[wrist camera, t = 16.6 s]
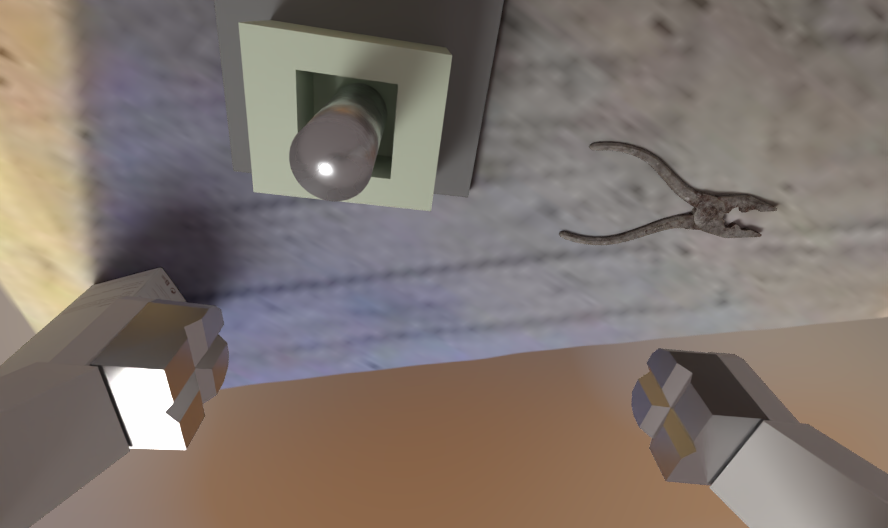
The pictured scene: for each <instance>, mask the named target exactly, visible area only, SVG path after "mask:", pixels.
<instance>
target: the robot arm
mask: <svg viewBox="0 0 888 528" xmlns="http://www.w3.org/2000/svg"><path fill="white" fill-rule="evenodd" d="M223 325H224V321H223V316H222V311H221V309H220V308H218V307H217V306H213V305H205V304H196V303H188V302H179V301H171V300H162V299H150V298H141V297H132V296H125V297H122V298H118V299H116V300H115V301H114V302H113V303H112V304H111V305H110V306H109V307H108V308H107V309H105V310H104V311H103V312H102V313H101V314H100V315H99V316H98V317H97V318H96V319H95V320H94V321H92V322H91V323H90V324H89V325H88V326H87V327H86V328H85V329H84V330H83V331H82V332H81V333H80V334H78V335H77V336H76V337H75V338H74V339H73V340H72V341H71V342H70V343H69V344H68V345H67V346H65V347H64V348H63V349H62V350H61V351H60V352H59V353H58V354H57V355H56V356H55V357H54V358H52V359H51V360H50V361H49V362H35V363H33V364H30V365H28V366H25V367H23V368H21V369H18V370H16V371H14V372H11V373H9V374H6V375H4V376H2V377H0V528H29V527H31V526H32V525H33V524H34V523H36V522H37V521H38V520H40V519H41V518H43V517H44V516H45V515H46V514H48V513H49V512H50V511H52V510H53V509H54V508H56V507H57V506H58V505H60V504H61V503H62V502H63V501H65V500H66V499H68V498H69V497H70V496H71V495H73V494H74V493H75V492H77V491H78V490H79V489H81V488H82V487H83V486H85V485H86V484H87V483H89V482H90V481H91V480H93V479H94V478H95V477H97V476H98V475H99V474H100V473H102V472H103V471H105V470H106V469H107V468H109V467H110V466H111V465H112V464H114V463H115V462H116V461H117V460H119V459H120V458H122V457H123V456H124V455H126V454H127V453H128V452H129V451H130V448H145V449H171V450H186V449H187V447H188V446H189V444H190V442H191V440H192V439H193V437H194V435H195V433H196V432H197V430H198V428H199V426H200V424H201V423H202V421H203V419H204V417H205V413H204V408H203V403H205V402H206V401H208V400H210V399H211V398H213V397H214V396H216V395H217V394H218V392H219V390H220V388H221V386H222V384H223V382H224V379H225V376H226V372H227V368H228V361H229V351H228V344H227V342H226V341H225V340H224V339H223V338H222V337H221V336H220V335H219V334H218V333H219V332H220V330H221V328H222V327H223ZM647 365H648V368H649V371H650V372H649V373H647V374H646V375H644V376H643V377H641V378H639V379H638V381H637V383H636V385H635V387H634V389H633V391H632V410H633V414H634V417H635V419H636V421H637V424H638V426H639V428H640V429H642V430H643V431H644V432H645V433H646V434H647V435H649V436H650V437H651V438H652V440H651V444H650V447H649V449H650V450H651V453H652V455H653V457H654V459H655V461H656V463H657V465H658V467H659V469H660V471H661V473H662V475H663V477H664V479H665V481H668V482H679V483H690V484H700V485H711V486H710V489H711V490H712V491H713V492H714V493H715V494H716V495H717V496H718V497H719V498H720V499H721V500H722V501H723V502H724V503H725V504H726V505H727V506H728V507H729V508H730V509H731V510H732V511H733V512H734V513H735V514H736V515H737V516H738V517H739V518H740V519H741V520H742V521H743V522H744V523H745V524H746V525H747V526H748V527H749V528H888V474H887V473H885V472H884V471H882V470H881V469H879V468H877V467H876V466H874V465H873V464H871V463H869V462H868V461H866V460H865V459H863V458H861V457H860V456H858V455H857V454H855V453H854V452H852V451H850V450H849V449H847V448H846V447H844V446H842V445H840V444H839V443H838V442H836V441H834V440H833V439H831V438H829V437H828V436H826V435H825V434H823V433H821V432H820V431H818V430H817V429H815V428H814V427H812V426H810V425H809V424H802V423H799V422H798V420H797V419H796V418H795V417H794V416H793V415H792V414H791V412H790V411H789V410H788V409H787V408H786V407H785V406H784V405H783V403H782V402H781V401H780V400H779V399H778V398H777V397H776V395H775V394H774V393H773V392H772V391H771V390H770V389H769V388H768V386H767V385H766V384H765V383H764V382H763V381H762V380H761V378H760V377H759V376H758V375H757V374H756V373H755V372H754V371H753V369H752V368H751V367H750V366H749V365H748V364H747V363H746V362H745V360H744V359H742V358H740V357H739V356H737V355H735V354H726V353H713V352H709V353H705V352H694V351H683V350H682V351H681V350H672V349H661V348H659V349H658V350H656V351H655V352H654V353H652V355H651V356H650V358H649V360H648V362H647Z"/></svg>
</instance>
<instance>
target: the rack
mask: <svg viewBox="0 0 888 528" xmlns="http://www.w3.org/2000/svg"><path fill="white" fill-rule="evenodd" d="M238 24H239V35H240V46H241V57H242V68H243V79H244V91H245V102H246V113H247V124H248V135H249V146H250V157H251V168H252V179H253V190H254V192H258V193H267V194H276V195H286V196H295V197H304V198H314V199H320V198H318V197H315V196H314V195H312V194H310V193H309V192H307V191H306V190H305V189H304V188H303V187H302V186H301V185H300V184H299V183H298V181H297V180H296V179H295V177H294V175H293V173H292V170H291V167H290V162H289V151H290V146H291V143H292V141H293V139H294V137H295V136H296V135H297V133H298V132H299V131H300V130H301V129H302V128H303V127H304V126H305V125H306V124H307V123H308V122H309V121H310V120H311V119H312V118H313V117H314V116H315V115H316V114H317V113H318V112H319V111H320V109H321V108H322V107H323V106H324V105H325V104H326V103H327V102H328V101H329V100H330V99H331V98H332V97H333V96H334V95H335V94H336V93H337V92H338V91H339V90H340V89H341V88H342V87H344V86H345V85H348V84H351V83H363V84H367V85H369V86H371V87H373V88H374V89H375V90H377V91H378V92H379V93H380V95H381V96H382V98H383V99H384V101H385V104H386V107H387V120H386V124H385V127H384V131H383V135H382V138H381V142H380V146H379V149H378V153H377V157H376V160H375V164H374V167H373V171H372V175H371V178H370V181H369V183H368V184H367V186H366V187H365V189H364V190H363V191H362V192H361V193H359V194H358V195H357V196H355V197H353V198H351V199H348V200H344V201H342V202H351V203H360V204H369V205H379V206H388V207H397V208H407V209H416V210H425V211H431V207H432V199H433V192H434V185H435V178H436V170H437V163H438V156H439V149H440V141H441V134H442V127H443V119H444V112H445V105H446V98H447V90H448V83H449V76H450V69H451V61H452V54H451V53H450V52H449V51H448V49H447V48H446V47H440V46H433V45H427V44H421V43H414V42H408V41H401V40H395V39H389V38H382V37H376V36H369V35H363V34H357V33H350V32H344V31H337V30H331V29H325V28H318V27H312V26H305V25H299V24H293V23H286V22H280V21H273V20H263V21H250V22H238Z"/></svg>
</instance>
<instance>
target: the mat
mask: <svg viewBox="0 0 888 528" xmlns="http://www.w3.org/2000/svg"><path fill="white" fill-rule="evenodd" d="M503 3H504V0H214V4H215V13H216V22H217V31H218V40H219V49H220V58H221V66H222V75H223V84H224V93H225V102H226V111H227V119H228V128H229V137H230V146H231V155H232V164H233V171H238V172H247V173H252V168H251V157H250V146H249V135H248V124H247V113H246V102H245V91H244V79H243V68H242V57H241V46H240V35H239V24H238V22H250V21H263V20H273V21H280V22H286V23H293V24H299V25H305V26H312V27H318V28H325V29H331V30H337V31H344V32H350V33H357V34H363V35H369V36H376V37H382V38H389V39H395V40H401V41H408V42H414V43H421V44H427V45H433V46H440V47H446V48H447V49H448V51H449V52H450V53H451V54H452V61H451V69H450V76H449V83H448V90H447V98H446V105H445V112H444V119H443V127H442V134H441V141H440V149H439V156H438V163H437V170H436V178H435V185H434V192H433V194H442V195H451V196H460V197H468V195H469V189H470V184H471V178H472V173H473V167H474V162H475V156H476V151H477V145H478V140H479V134H480V129H481V123H482V118H483V112H484V107H485V101H486V96H487V90H488V85H489V80H490V74H491V69H492V63H493V58H494V52H495V47H496V41H497V36H498V30H499V25H500V19H501V14H502V8H503Z"/></svg>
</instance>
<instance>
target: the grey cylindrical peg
mask: <svg viewBox="0 0 888 528" xmlns="http://www.w3.org/2000/svg"><path fill="white" fill-rule="evenodd" d="M386 120H387V107H386V104H385V101H384V99H383V98H382V96H381V95H380V93H379V92H378V91H377V90H375V89H374V88H373V87H371V86H369V85H367V84H363V83H351V84H348V85H345V86H344V87H342V88H341V89H340V90H339V91H338V92H337V93H336V94H335V95H334V96H333V97H332V98H331V99H330V100H329V101H328V102H327V103H326V104H325V105H324V106H323V107H322V108H321V109H320V111H319V112H318V113H317V114H316V115H315V116H314V117H313V118H312V119H311V120H310V121H309V122H308V123H307V124H306V125H305V126H304V127H303V128H302V129H301V130H300V131H299V132H298V133H297V135H296V136H295V137H294V139H293V141H292V143H291V146H290V151H289V162H290V167H291V170H292V173H293V175H294V177H295V179H296V180H297V181H298V183H299V184H300V185H301V186H302V187H303V188H304V189H305V190H306V191H307V192H309V193H310V194H312V195H314V196H315V197H318V198H320V199H323V200H327V201H344V200H348V199H351V198H353V197H355V196H357V195H358V194H359V193H361V192H362V191H363V190H364V189H365V187H366V186H367V184H368V183H369V181H370V178H371V175H372V171H373V167H374V164H375V160H376V157H377V153H378V149H379V146H380V142H381V138H382V135H383V131H384V127H385V124H386Z"/></svg>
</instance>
